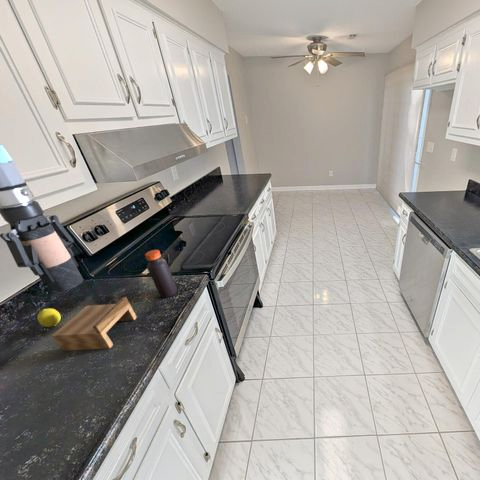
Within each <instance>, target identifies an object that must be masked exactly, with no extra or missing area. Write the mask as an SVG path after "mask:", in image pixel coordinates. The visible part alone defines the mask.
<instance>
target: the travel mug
mask: <svg viewBox="0 0 480 480" xmlns="http://www.w3.org/2000/svg"><path fill="white" fill-rule="evenodd" d="M17 235H18V236H19V237H18V238H19V240H20V241H21V243H22V244H23V245H25V246H29V245H30V244H31V245H32V246H33V248H34V249H35V251H36V252H37V254H38V261H39V263H43V264H44V265H45V267H46V268H47V270H48V271H49V273H50V274H51V276H52V277H53V279H54V280H55V282H53V283H48V285H49V286H50V287H51V288H52V290H53V291H54V292H57V293H61V292H65V291H69V290H72V289H74V288H76V287H78V286H79V285H81V284H82V283H83V282H84V278H83V276H82V274H81V272H80V270H79V269H78V267H76V265H75V263H74V261H73V260H72V258H71V256H70V254H69V253H68V251H67V249H66V248H65V246H64V245H63V243H62V241H61V240H60V238H59V236H58V235H57V233H56V232H55V230H54V228H53V227H52V225H51V224H50V223H48V222H47V226H45V227H43V228H42V227H39V228H36V230H33V231H29V232H24V233H17ZM23 245H22V246H23Z"/></svg>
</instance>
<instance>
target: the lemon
mask: <svg viewBox="0 0 480 480" xmlns="http://www.w3.org/2000/svg"><path fill="white" fill-rule="evenodd" d="M61 317H62V316H61V313H60V312H59V311H58V310H56V309H55V308H43V309H41V311H39V313H38V314H37V321H38V323H39V325H41V326H43V327H47V328H51V327H56V326H57V325H58V324H59V323H60V321H61Z"/></svg>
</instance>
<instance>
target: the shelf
mask: <svg viewBox="0 0 480 480" xmlns="http://www.w3.org/2000/svg"><path fill="white" fill-rule="evenodd" d="M135 320H137V314H136V313H135V311H134V309H133V307H132V305H131V303H130V301H129V300H128V298H127V296H123V297H121V298H120V299H119V300H118V301H117V302H116V303H110V304H93V305H86V306H85V307H83V308H82V309H81V310H80V311H79V312H78V313H76V315H74V316H73V317H72V318H71V319H70V320H68V321H67V322H66V323H65V324H63V325H62V326H61V327H60V328H59V329H58V330H56V331H55V332H54V333H53V334H52V335H51V337H52V338H53V339H54V341H55V342H56V344H57V345H58V346H59V347H60V348H61V350H62V351H64V352H65V351H82V350H83V351H84V350H101V349H102V350H103V349H104V350H105V349H111V348H112V347H113V346H114V343H113V342H112V340H111V339H110V337H109V335H108V334H107V333H108V332H109V330H110V329H111V328H112V327H113V326H115V324H116V323H117V322H129V321H135Z"/></svg>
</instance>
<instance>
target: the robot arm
mask: <svg viewBox="0 0 480 480" xmlns="http://www.w3.org/2000/svg"><path fill="white" fill-rule="evenodd" d="M0 216H1V217H2V218H3V221H5V222H6V223H7V224H9V227H10V230H9V231H7V232H3V233H0V238H1V239H2V240H3V241H4V242H5V244H6V246H7V247H8V250H9V252H10V254H11V256H12V258H13V260H14V261H15V264H16V267H17V268H29V269H30V270H31V272H32V273H33V275H34V276H38V277H39V279H40V280H41V281H42V283H43V284H49V283H53V282H55V280H54V279H53V277H52V276H51V274H50V273H49V271H48V270H47V268H46V267H45V265H44V264H43V263H39V261H38V254H37V252H36V251H35V249H34V248H33V246H32V245H31V244H30V245H29V246H25V245H23V244H22V243H21V241H20V240H19V238H18V237H19V236H18V235H17V233H24V232H29V231H33V230H36V228H39V227H42V228H43V227H45V226H47V222H48V223H50V224H51V225H52V227H53V228H54V230H55V232H56V233H57V235H58V236H59V238H60V240H61V241H62V243H63V245H64V246H65V248H66V249H67V251H68V253H69V254H70V256H71V258H72V260H73V261H74V263H75V265H76V267H77V268H78V267H79V264H78V262H77V260H76V259H75V257H74V256H75V254H74V251H73V250H72V249H71V248H72V247H73V246H74V245H73V244H74V243H75V240H74V239H73V236H71V234H70V233H69V232H68V231H67V230H66V229H65V227H64V226H63V225H62V223H61V222H60V220H59V217H58V216H57V215H56V214H51V215H44V210H43V208H42V207H41V204H39V201H36V197H35V195H34V194H33V192H32V190H31V189H30V187H29V185H28V184H27V182H26V181H25V179H24V177H23V176H22V174H21V172H20V170H19V169H18V167H17V165H16V163H15V161H14V159H13V158H12V157H11V155H10V154H9V153H8V151H7V150H6V148H5V147H4V145H2V144H1V143H0ZM22 245H23V246H22Z"/></svg>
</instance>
